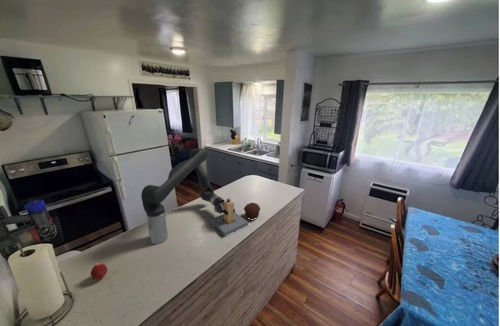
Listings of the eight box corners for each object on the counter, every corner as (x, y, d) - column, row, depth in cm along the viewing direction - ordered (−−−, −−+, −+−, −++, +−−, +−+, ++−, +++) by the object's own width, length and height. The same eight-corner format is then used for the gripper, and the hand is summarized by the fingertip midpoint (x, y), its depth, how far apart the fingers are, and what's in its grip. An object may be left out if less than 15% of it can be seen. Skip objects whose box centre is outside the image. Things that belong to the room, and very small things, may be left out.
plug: (227, 226, 123) (227, 201, 118) (224, 223, 127) (223, 199, 122) (233, 223, 126) (233, 199, 121) (229, 220, 129) (229, 197, 124)
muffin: (250, 223, 128) (250, 210, 125) (240, 216, 136) (240, 203, 134) (263, 217, 136) (263, 204, 133) (253, 210, 144) (253, 198, 141)
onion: (111, 272, 89) (108, 258, 87) (102, 283, 84) (99, 268, 81) (98, 272, 89) (95, 258, 87) (89, 283, 83) (85, 268, 81)
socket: (224, 237, 115) (224, 232, 114) (210, 223, 128) (210, 219, 127) (248, 226, 125) (248, 222, 125) (232, 214, 139) (232, 210, 138)
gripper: (208, 200, 129) (221, 210, 116) (226, 194, 138) (240, 203, 125) (208, 210, 131) (221, 221, 118) (226, 203, 140) (240, 214, 127)
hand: (231, 212), depth 122 cm, fingers closed on plug, 4 cm apart
